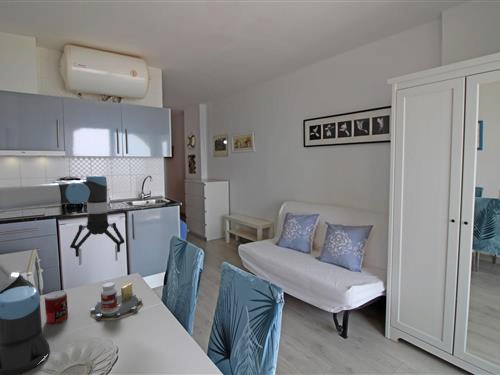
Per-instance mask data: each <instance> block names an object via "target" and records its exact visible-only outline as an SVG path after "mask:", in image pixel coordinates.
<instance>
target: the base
mask: <svg viewBox="0 0 500 375" xmlns="http://www.w3.org/2000/svg"><path fill="white" fill-rule="evenodd" d="M142 305H143V302H142V303H139V304H138V306H137V310H136V311H134V312H132V311H131V312H129V313H127V314H124V315H121V316H120V317H119V318H114V317H109V318H104V317H102V318H100V319H98V318H96V314H95V312H94V313H91V312H90V316H91V318H93V319H94V320H97V321H114V320H119V319H120V320H121V319H123V318H127V317H130V316H131V315H133V314H135V313H136V312H138V311H139V310H140V308H142Z"/></svg>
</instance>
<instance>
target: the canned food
mask: <svg viewBox="0 0 500 375" xmlns="http://www.w3.org/2000/svg"><path fill="white" fill-rule="evenodd" d="M67 295H68V294H67V291H66V290H55V291H52V292H49V293H47V294H45V296H44V308H45V309H44V310H45V321H46V323H47V324H50V325H55V324H59V323H62V322H64V321H65V320H67V319H68V316H69V311H68V310H69V309H68V296H67Z"/></svg>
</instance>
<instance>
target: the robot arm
mask: <svg viewBox="0 0 500 375" xmlns="http://www.w3.org/2000/svg"><path fill="white" fill-rule="evenodd" d="M107 182H108V181H107V177H106V176H105V175H87V176H86V178H85V179H84V180H55V181H52V182H51V183H44V184H43V183H42V184H32V185H30V184H29V185H18V186H17V185H16V186H5V187H4V186H3V187H0V212H8V211H9V212H10V211H16V210H24V209H31V208H40V207H41V208H42V207H49V206H56V205H66V204H67V205H68V204H75V205H76V204H78V205H79V204H84V203H85V202H86V209H87V210H86V211H87V212H88V213H87V223H86V224H82V223H81V224H79V226H78V231H77V233H76V234H75V236H74V238H73V240H72V242H71V244H70V246H69V247H70V249H74V250H75V257H78V265H79V266H81V265H82V264H83V263H82V262H83V261H82V260H83V259H82V247H81V246H82V245H83V244H84V243H85V242H86V240H88V238H89V237H90V236H91V235H95V236H96V235H103V234H105V235H106V236H107V237H108V238H110V239H111V240H112V241H113V242H114V243H115V245H114V249H115V254H114V256H115V262H116V261H118V253H120V252H121V245H122V244H125V239H124V238H123V236H122V234H121V232H120V231H119V229H118V227H117V224H116V222H115V221H113V222H111V223H110V222H108V220H109V219H108V218H109V217H108V216H109V215H108V212H107V211H108V184H107ZM109 227H110V228H111V229H113V231H114V232H115V234H116V236H117V238H118V239H119V240H118V239H117V238H116V237H115V236H114V235H113V234H112V233H111V232H110V231H109V230H108V228H109ZM85 229H86V230H88V232H87V233H86V234H85V235H84V236H83V238H81V240H80V241H79V242H78V243H77V241H78V240H79V237H80V235H81V233H82V232H83V231H84V230H85ZM76 243H77V244H76ZM41 314H42V313H41V295H40V292H39V290H38V289H37V288H36V287H35V285H34V284H33V283H32V282H31V281H29V280H27V279H26V278H24V276H23V275H22V274H21V273H20V272H17V271H16V272H15V271H13V272H12V271H11V270H10V269H9V268H8V267H7V266H6V264H4V263H3V262H2V261H1V260H0V375H21V374H23V373H27V372H28V371H31V370H32V369H35V368H36V367H37V366H36V365H37V364H38V363H39V362H40V361H41V360H42V359H43V358H44V356H46V355H47V354H49V353H50V354H51V350H50V344H49V342H48V340H47V338H46V336H45V335H44V332H43V327H42V325H43V324H42V315H41ZM50 354H49V355H50ZM35 366H36V367H35ZM34 367H35V368H34Z"/></svg>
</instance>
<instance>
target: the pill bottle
mask: <svg viewBox="0 0 500 375" xmlns="http://www.w3.org/2000/svg"><path fill="white" fill-rule="evenodd" d="M115 286H116V285H115V282H110V281H109V282H107V283H103V284H102V290H101V292H100V300H101V307H102V311H103V312H111V311H113V310H115V309H116V308H117V295H118V294H117V293H118V291H117V288H116V287H115Z"/></svg>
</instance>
